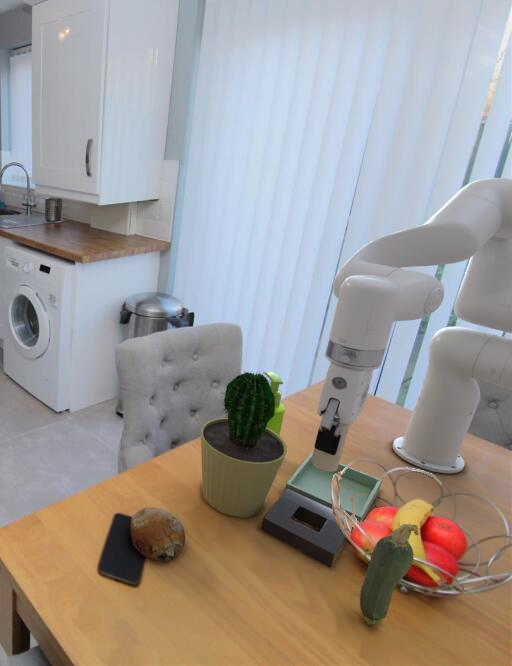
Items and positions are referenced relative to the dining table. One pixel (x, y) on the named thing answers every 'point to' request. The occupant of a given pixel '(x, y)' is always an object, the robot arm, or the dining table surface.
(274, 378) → the soap dispenser
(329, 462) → the plug
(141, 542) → the bread roll
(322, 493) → the green tray
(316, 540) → the block
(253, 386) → the potted cactus
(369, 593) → the vegetable
